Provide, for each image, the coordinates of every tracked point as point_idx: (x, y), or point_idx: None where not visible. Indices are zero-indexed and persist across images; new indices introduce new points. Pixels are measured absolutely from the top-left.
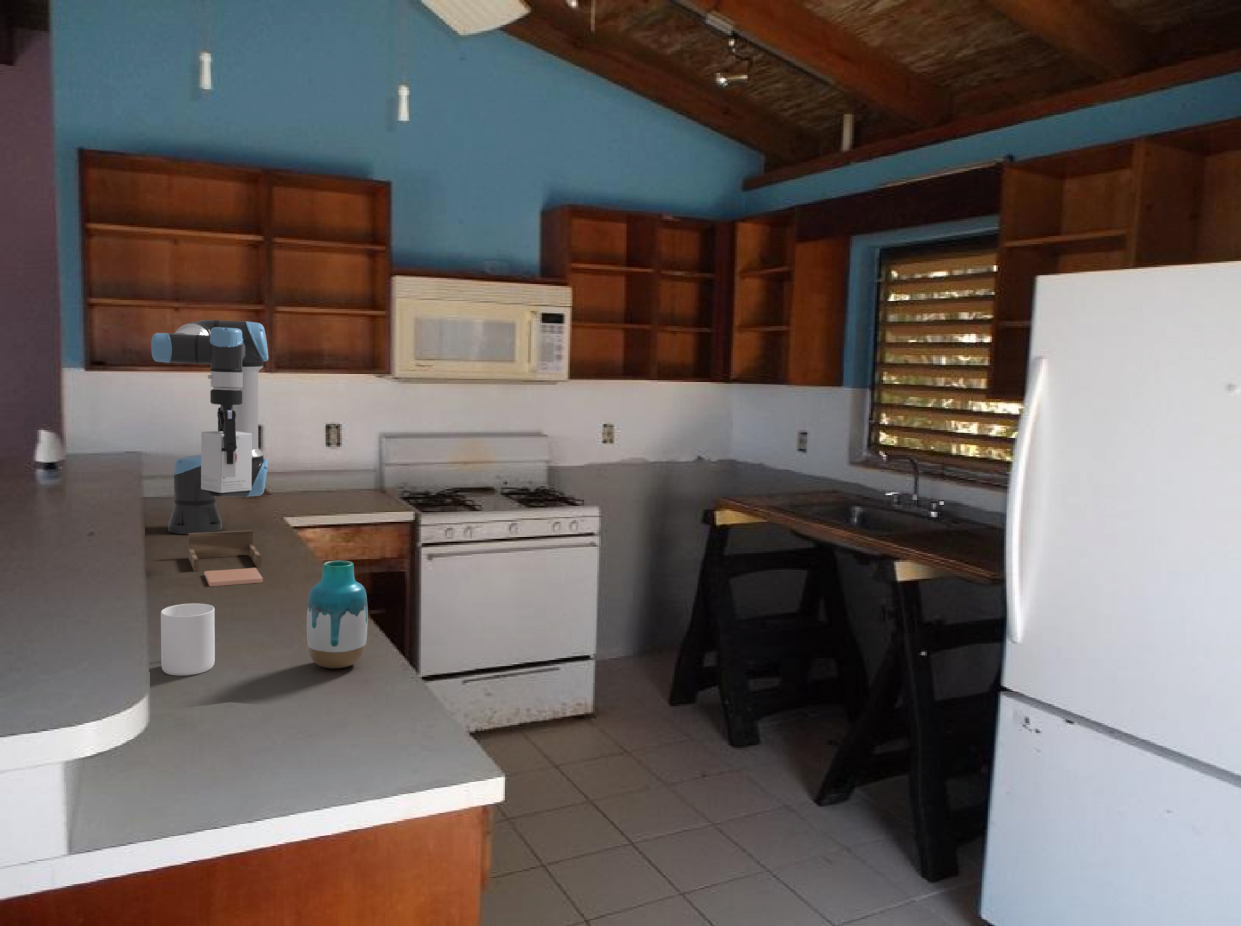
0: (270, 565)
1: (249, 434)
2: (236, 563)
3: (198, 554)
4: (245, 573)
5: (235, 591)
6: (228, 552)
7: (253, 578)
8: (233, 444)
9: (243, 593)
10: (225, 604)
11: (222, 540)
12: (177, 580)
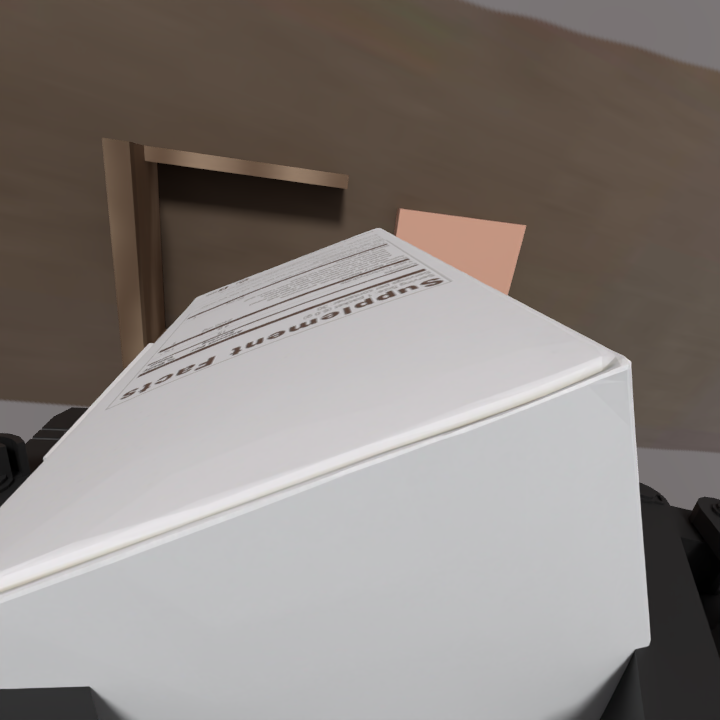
0: (335, 141)
1: (629, 405)
2: (269, 231)
3: (160, 318)
4: (452, 252)
5: (560, 303)
6: (155, 231)
7: (513, 248)
8: (669, 541)
9: (585, 291)
10: (638, 341)
11: (144, 257)
12: None
